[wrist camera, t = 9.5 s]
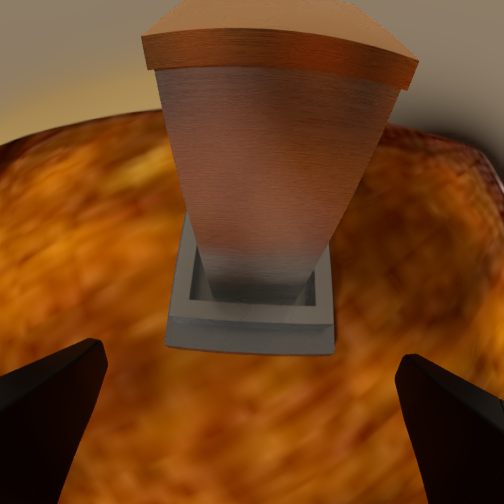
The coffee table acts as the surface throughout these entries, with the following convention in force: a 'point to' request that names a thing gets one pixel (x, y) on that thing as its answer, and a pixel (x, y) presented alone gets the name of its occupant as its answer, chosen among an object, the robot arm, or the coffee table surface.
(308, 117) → the post
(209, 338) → the housing
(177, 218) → the coffee table surface
